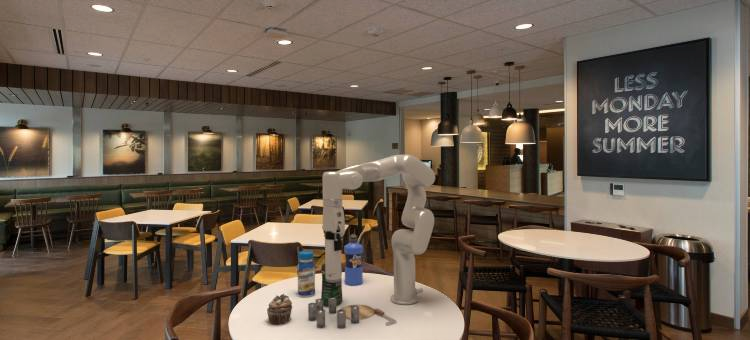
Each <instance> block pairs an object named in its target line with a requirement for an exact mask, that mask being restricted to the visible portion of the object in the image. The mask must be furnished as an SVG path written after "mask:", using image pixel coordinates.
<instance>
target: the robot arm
mask: <svg viewBox="0 0 750 340" xmlns="http://www.w3.org/2000/svg"><path fill="white" fill-rule="evenodd" d="M397 175H402V180H403V182H404V184H405V187H406V189H407V199H406V202H405V203H404V204H405V206H404V208H403V211H402V214H401V223H402V225H404V226H405V227H407V228H411V229H413V230H409V229H405V228H402V229H401V228H400V229H398V230H395V231H394V232H393V234H392V236H391V248H392V253H393V294H392V295H391V296H389V297H390V301H391V302H392V303H394V304H397V305H405V306H406V305H408V306H409V305H414V304H416V303H418V302H419V296H418V295H419V294H421V293H423V292H424V290H423V287H420V288H417V287H416V257H415V255H416V256H420V255H422V254H424V253H425V252H426V250H427V248H428V246H429V243H430V239H431V236H432V233H433V229H434V225H435V216H434V213H433V212H432V210H430V209H428V208H425V205H426V201H427V193H426V190H425V187H426V188H428V187H431V186H432V185H433V184H434V182H435V181H436V174H435V172H434V170H433V169H432V168H431V166H429V165H427V164H426V163H424V162H422V160H420V159H419V158H418V157H416V156H414V155H412V154H394V155H391V156H387V157H385V158H381V159H377V160H374V161H369V162H366V163H362V164H357V165H352V166H348V167H345V168H342V169H340V170H337V171H325V172H323V174H322V208H323V209H322V226H321V228H322V230H323V237H324V238H325V232H332V233H334V238H335V241H334V251H339V250H341V251H342V250H343V246H342V245H343V238H344V235H345V233H346V232H345V231H346V222H345V221H346V219H345V213H344V208H343V190H356V189H358V188H360V187H361V186H362V184H363V182H369V183H370V182H372V183H373V182H379V181H382V180H385V179H388V178H392V177H394V176H397ZM336 231H339V232H336ZM337 234H338V236H337Z"/></svg>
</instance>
